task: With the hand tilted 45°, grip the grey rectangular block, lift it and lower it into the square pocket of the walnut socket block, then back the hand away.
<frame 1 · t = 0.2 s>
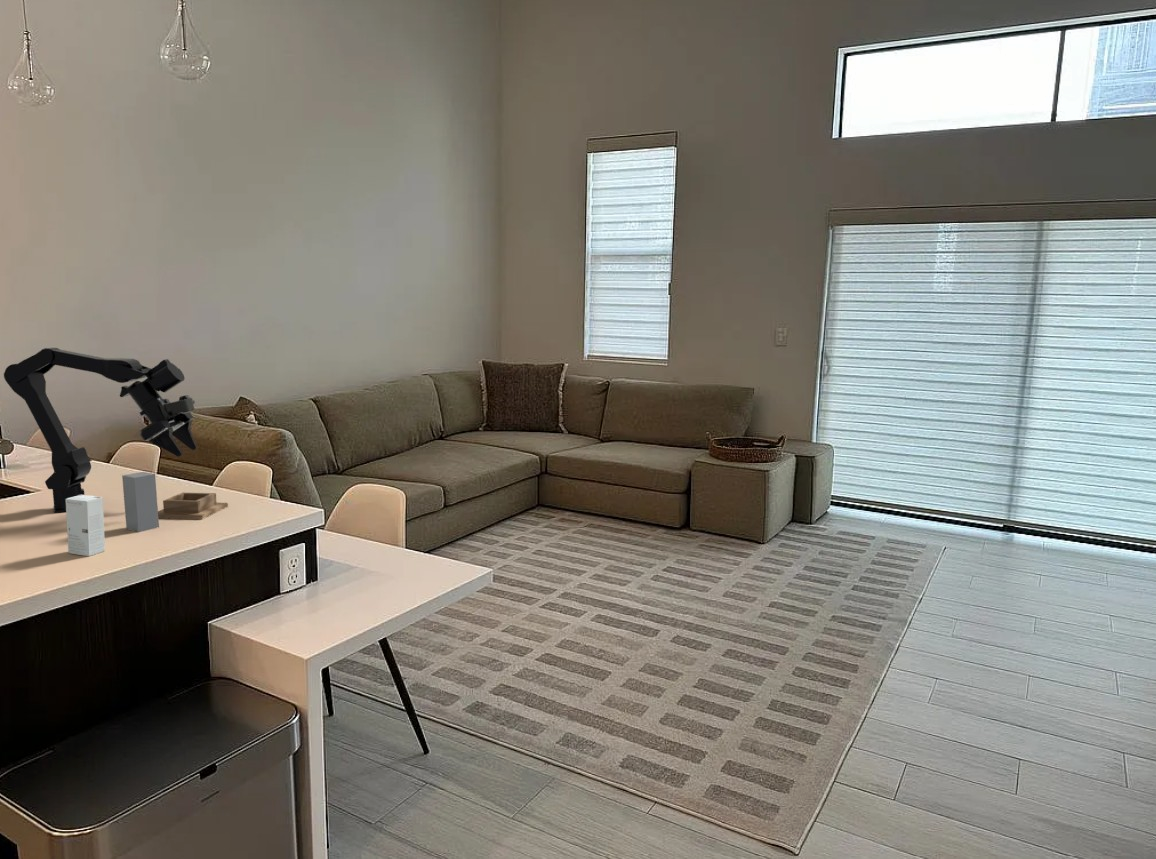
hand: (187, 452, 209), 15 cm above the table, tool tilted 35°, fingers open, 9 cm apart
skincare box: (88, 553, 174), on the table
walnut socket: (191, 512, 208), on the table
grey rectangular block: (142, 528, 193), on the table
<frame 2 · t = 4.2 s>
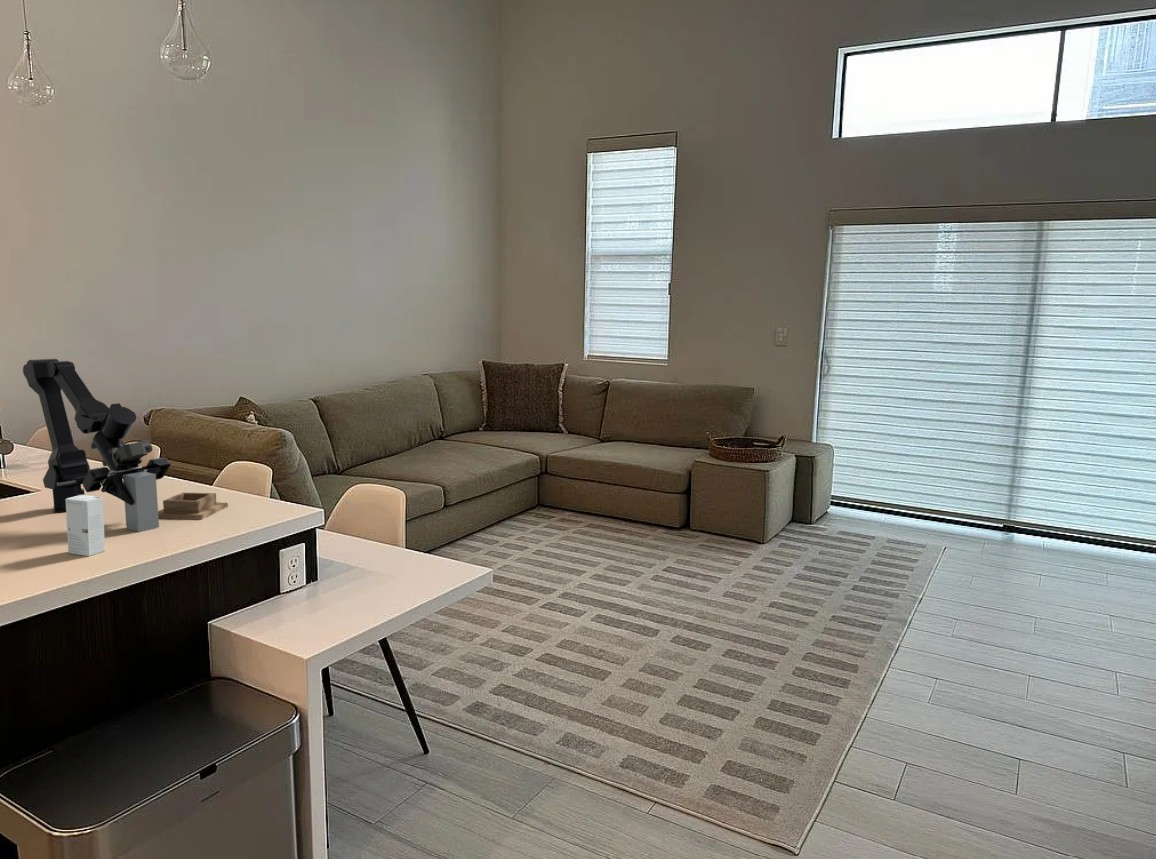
hand: (144, 501, 191), 7 cm above the table, tool tilted 45°, fingers closed on grey rectangular block, 5 cm apart
grey rectangular block: (142, 527, 193), on the table, touching gripper
everything else where it was.
when the fingers open (8 cm above the table, at t = 8.8 s): grey rectangular block stays where it is, resting on walnut socket.
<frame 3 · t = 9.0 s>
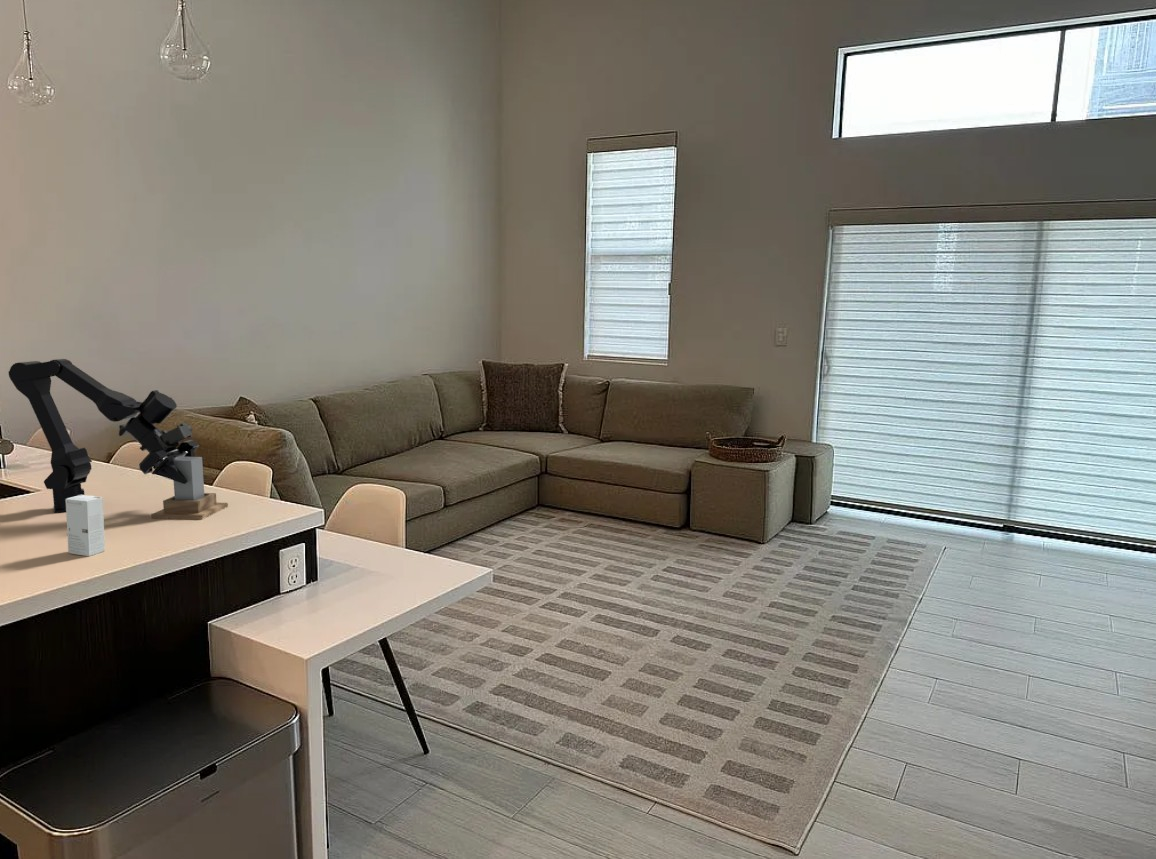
hand: (194, 479, 206), 9 cm above the table, tool tilted 45°, fingers open, 7 cm apart
grey rectangular block: (190, 508, 207), point 1 cm above the table, touching walnut socket
everything else where it was.
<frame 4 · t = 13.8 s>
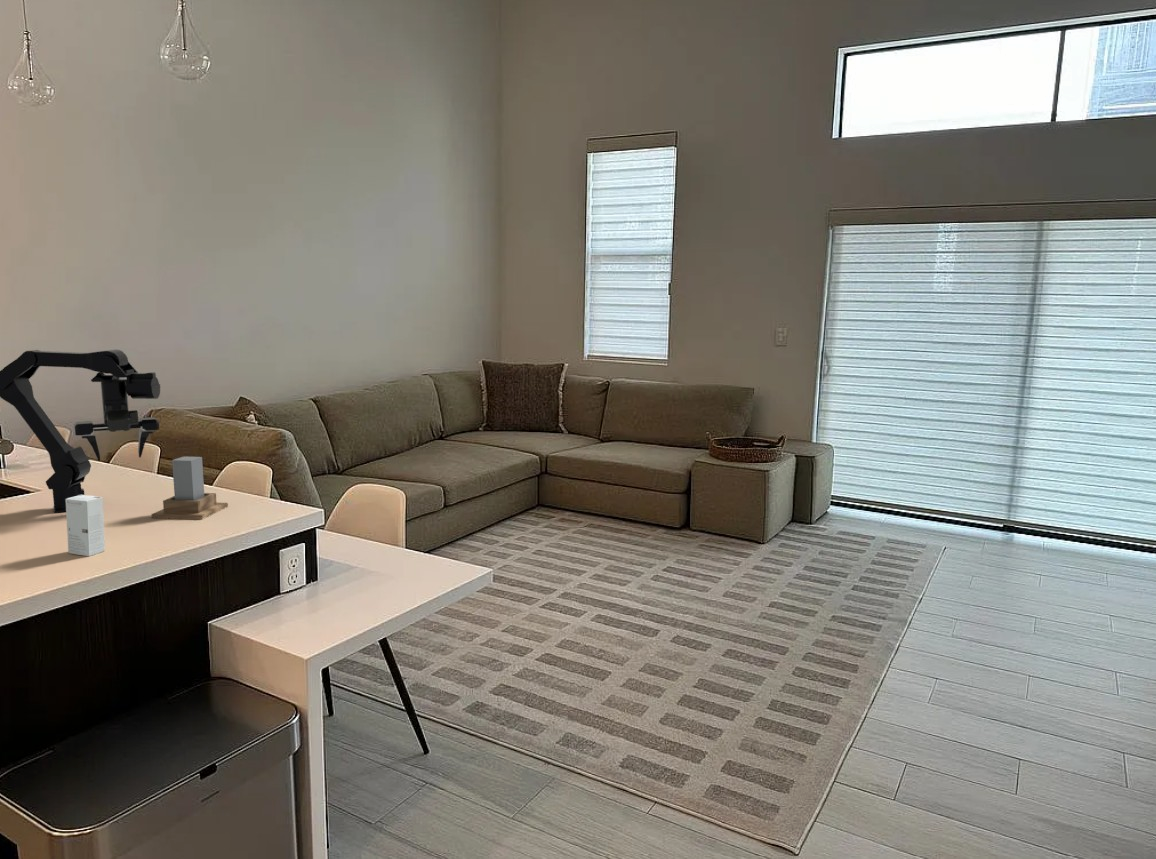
hand: (119, 459, 209), 13 cm above the table, tool pointing down, fingers open, 9 cm apart
nothing on the table moved.
at the end: grey rectangular block 0.0 cm off-centre on the walnut socket, point 1.0 cm above the walnut socket's base; grey rectangular block tilted 0°; the gripper is holding nothing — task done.
